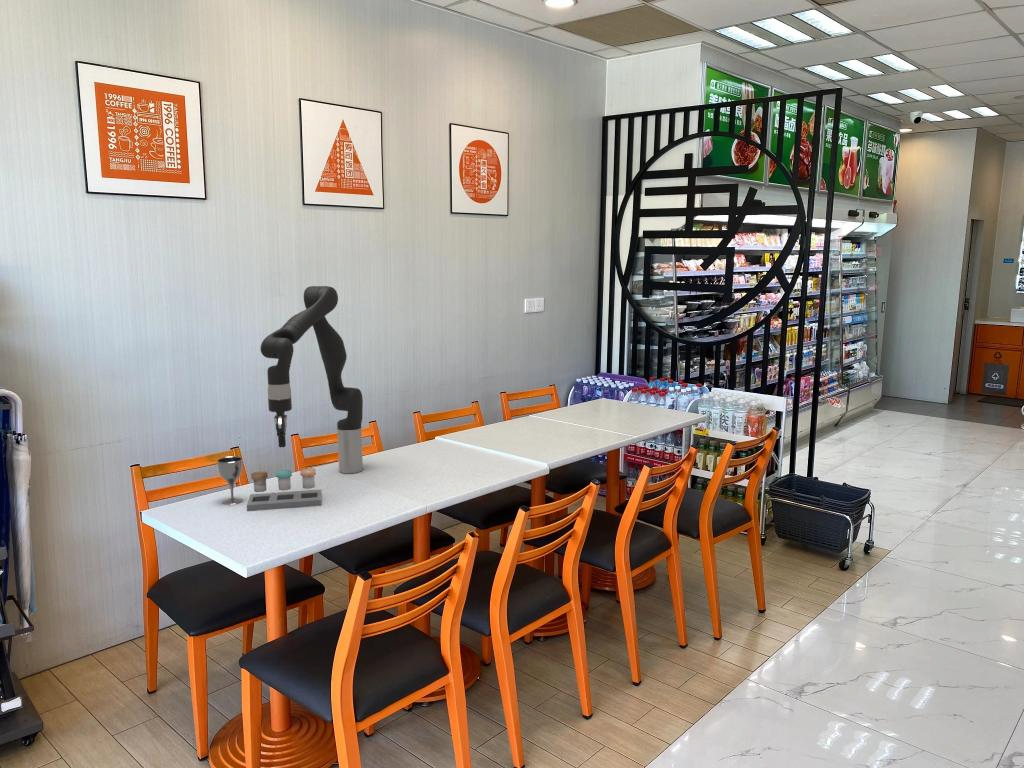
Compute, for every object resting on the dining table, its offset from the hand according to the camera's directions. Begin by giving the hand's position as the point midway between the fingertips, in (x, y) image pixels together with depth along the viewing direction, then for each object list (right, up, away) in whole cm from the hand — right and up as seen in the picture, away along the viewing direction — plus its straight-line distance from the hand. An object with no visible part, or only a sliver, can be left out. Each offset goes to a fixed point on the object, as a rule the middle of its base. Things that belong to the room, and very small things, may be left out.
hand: (282, 446), depth 261 cm
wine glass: (-19, -20, +5) cm, 28 cm away
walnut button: (-8, -15, +1) cm, 17 cm away
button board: (0, -20, +3) cm, 20 cm away
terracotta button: (+8, -14, +4) cm, 17 cm away
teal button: (0, -15, +2) cm, 15 cm away
